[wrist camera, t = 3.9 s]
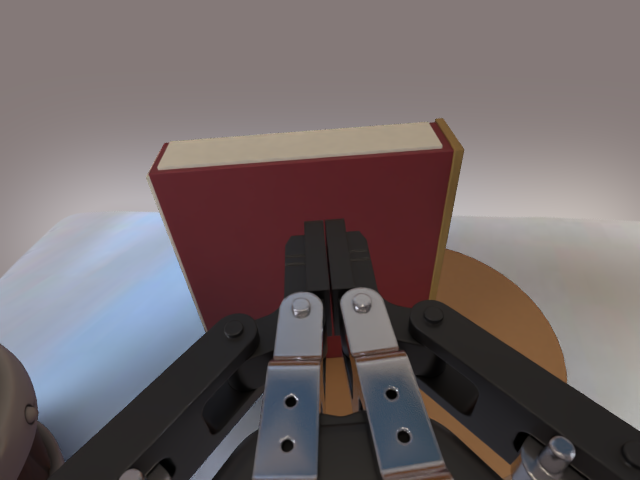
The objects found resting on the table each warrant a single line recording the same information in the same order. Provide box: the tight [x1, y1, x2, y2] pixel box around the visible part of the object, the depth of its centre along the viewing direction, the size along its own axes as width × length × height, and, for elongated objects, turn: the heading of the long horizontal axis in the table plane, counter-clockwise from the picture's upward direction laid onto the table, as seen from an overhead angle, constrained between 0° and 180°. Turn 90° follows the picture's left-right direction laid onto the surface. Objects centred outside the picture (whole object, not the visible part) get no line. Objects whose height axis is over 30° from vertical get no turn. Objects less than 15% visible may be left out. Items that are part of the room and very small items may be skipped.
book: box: [146, 118, 567, 480], centre depth 24 cm, size 23×20×16 cm
